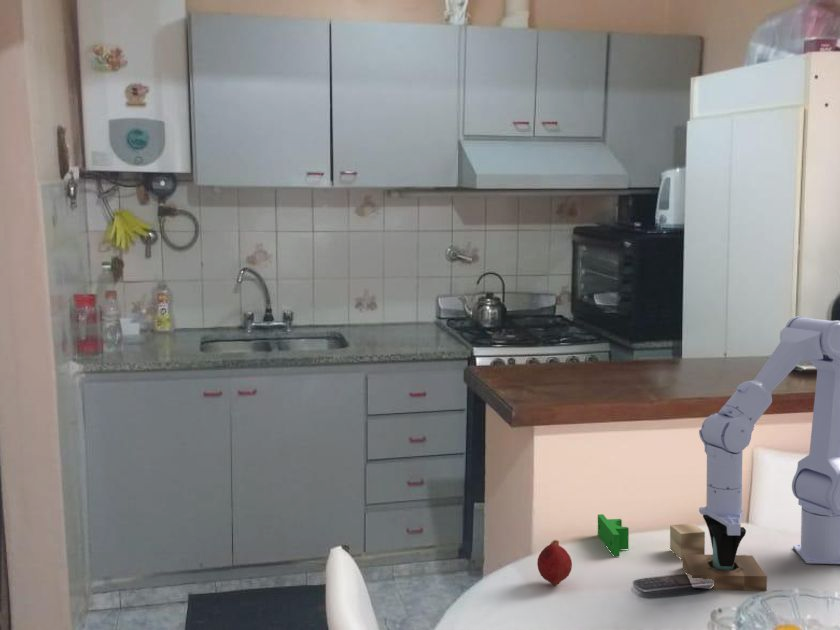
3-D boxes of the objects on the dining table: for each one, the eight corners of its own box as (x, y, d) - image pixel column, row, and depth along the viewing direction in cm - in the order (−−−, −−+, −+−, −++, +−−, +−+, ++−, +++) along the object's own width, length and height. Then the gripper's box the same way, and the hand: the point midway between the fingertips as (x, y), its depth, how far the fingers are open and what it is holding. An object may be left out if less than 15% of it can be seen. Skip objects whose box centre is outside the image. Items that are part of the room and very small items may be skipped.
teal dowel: (729, 567, 150) (730, 534, 149) (736, 575, 146) (736, 541, 146) (710, 568, 150) (710, 535, 149) (716, 576, 146) (716, 542, 146)
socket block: (752, 569, 152) (752, 555, 152) (766, 590, 143) (766, 576, 143) (682, 567, 153) (682, 554, 153) (692, 589, 144) (692, 574, 144)
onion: (550, 594, 144) (550, 548, 143) (531, 582, 149) (530, 538, 148) (578, 587, 146) (578, 542, 145) (558, 575, 151) (557, 531, 151)
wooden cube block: (693, 548, 162) (693, 523, 161) (704, 558, 157) (704, 531, 157) (670, 550, 161) (670, 525, 161) (680, 560, 157) (681, 533, 156)
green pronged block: (633, 557, 159) (633, 533, 158) (613, 558, 159) (613, 534, 158) (616, 535, 170) (616, 513, 170) (597, 536, 170) (597, 513, 169)
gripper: (691, 471, 154) (691, 544, 155) (709, 497, 140) (708, 577, 141) (732, 472, 153) (731, 545, 155) (754, 498, 139) (752, 578, 140)
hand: (723, 561), depth 148 cm, fingers closed on teal dowel, 3 cm apart
